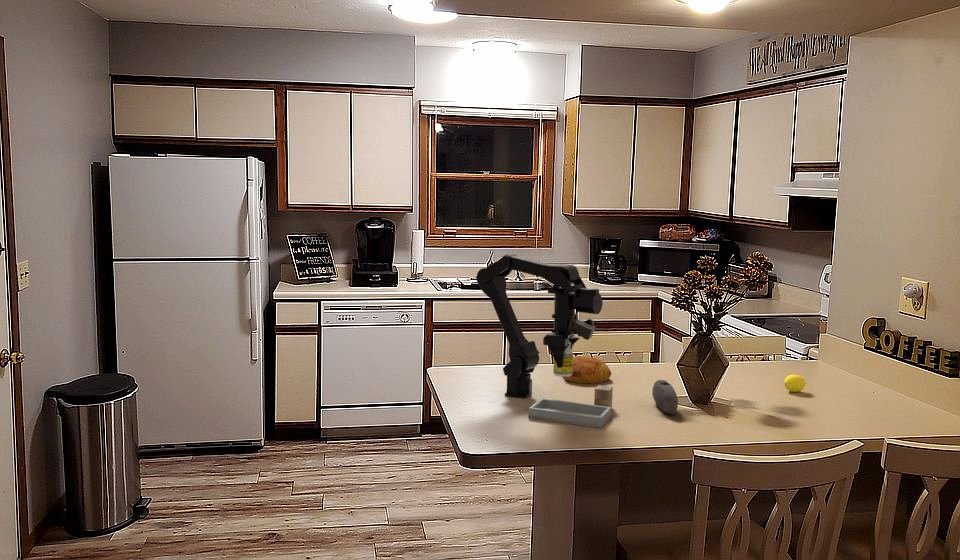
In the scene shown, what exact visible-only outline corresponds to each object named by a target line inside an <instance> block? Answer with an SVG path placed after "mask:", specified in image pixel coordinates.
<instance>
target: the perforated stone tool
mask: <svg viewBox="0 0 960 560" xmlns="http://www.w3.org/2000/svg"><path fill="white" fill-rule="evenodd" d="M652 398H653V401H654V402H655V404H656V406H657V407H658V408H660V410H662V411H663V412H664V413H666V414H669V415H673V414H676V412H677V411H678V406H679V399H678V395H677V392H676V391H675V389H674V386H672V384H671V383H669V382H668V381H667V380H665V379H664V380H663V379H658V380H656V381H655V382H654V384H653V385H652Z"/></svg>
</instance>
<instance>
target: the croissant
mask: <svg viewBox="0 0 960 560" xmlns="http://www.w3.org/2000/svg"><path fill="white" fill-rule="evenodd" d="M610 377H612V371H611V369H610V368H609V366H608V365H607V364H606V363H605V361H603V360H600V359H598V358H596V357H593V356H582V355H577V356H573V371H572V375H571V376H568V377H564V380H565V381H569V382H571V383H578V384H585V385H586V384H590V385H596V384H599V383H603V382H606V381H608V380H609V379H610Z"/></svg>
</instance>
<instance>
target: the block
mask: <svg viewBox="0 0 960 560" xmlns="http://www.w3.org/2000/svg"><path fill="white" fill-rule="evenodd" d="M613 388H614V387H613V386H606V385H600V384H599V385H597V386H596V387H595V388H594V399H593V400H594V401H593V403H594V404H593V405H598V406H606V407H611V409H612V408H613Z"/></svg>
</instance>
